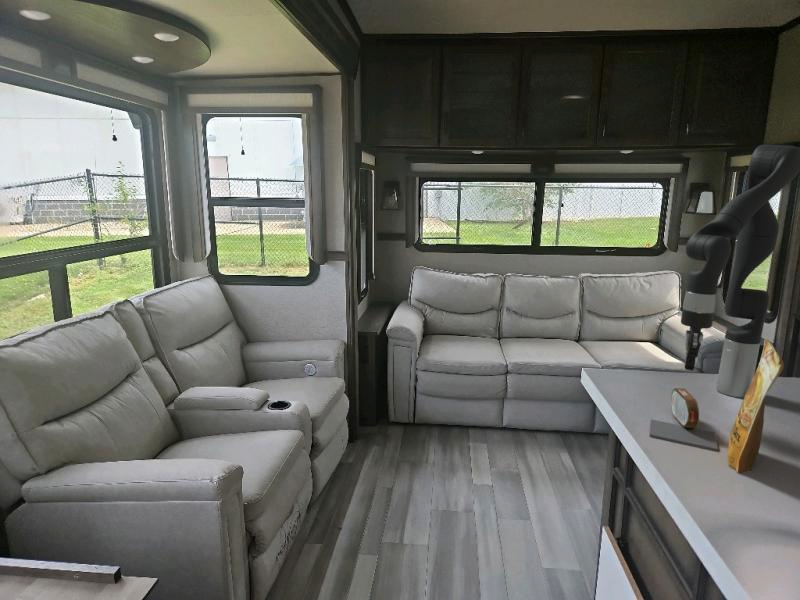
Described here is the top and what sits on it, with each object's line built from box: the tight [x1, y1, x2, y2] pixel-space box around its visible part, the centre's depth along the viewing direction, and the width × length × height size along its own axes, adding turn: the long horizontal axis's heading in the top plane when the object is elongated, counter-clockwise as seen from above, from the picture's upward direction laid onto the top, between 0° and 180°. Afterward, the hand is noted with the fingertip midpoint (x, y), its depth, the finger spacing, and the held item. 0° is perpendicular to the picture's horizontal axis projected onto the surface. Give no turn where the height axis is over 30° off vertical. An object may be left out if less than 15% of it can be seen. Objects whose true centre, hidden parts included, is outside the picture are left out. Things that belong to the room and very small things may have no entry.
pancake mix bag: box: [727, 338, 785, 473], centre depth 119 cm, size 7×19×28 cm, turn 146°
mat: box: [649, 419, 719, 452], centre depth 133 cm, size 10×15×1 cm, turn 63°
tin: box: [670, 387, 700, 429], centre depth 139 cm, size 15×3×8 cm, turn 168°
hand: (689, 369), depth 143 cm, fingers closed
